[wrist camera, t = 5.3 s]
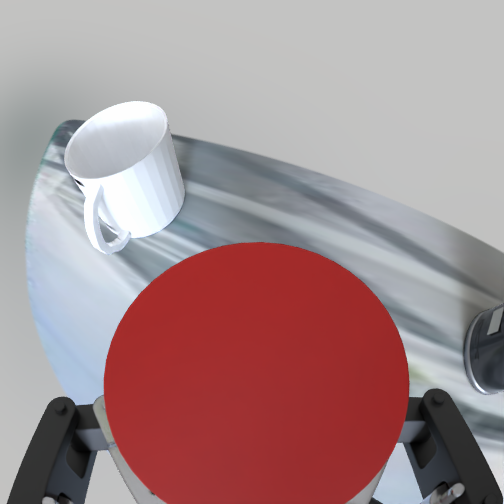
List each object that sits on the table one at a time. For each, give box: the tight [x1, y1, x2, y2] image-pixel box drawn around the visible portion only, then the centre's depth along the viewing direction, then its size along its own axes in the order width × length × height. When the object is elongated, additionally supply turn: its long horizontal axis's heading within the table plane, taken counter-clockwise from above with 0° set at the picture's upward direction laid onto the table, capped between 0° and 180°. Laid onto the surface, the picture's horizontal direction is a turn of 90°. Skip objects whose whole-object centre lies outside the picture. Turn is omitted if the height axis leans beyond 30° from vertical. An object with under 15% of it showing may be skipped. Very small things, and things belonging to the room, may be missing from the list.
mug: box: [64, 101, 185, 255], centre depth 23 cm, size 12×9×9 cm
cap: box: [104, 242, 409, 504], centre depth 5 cm, size 4×4×3 cm
